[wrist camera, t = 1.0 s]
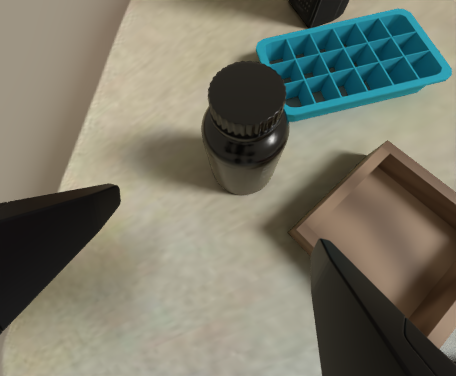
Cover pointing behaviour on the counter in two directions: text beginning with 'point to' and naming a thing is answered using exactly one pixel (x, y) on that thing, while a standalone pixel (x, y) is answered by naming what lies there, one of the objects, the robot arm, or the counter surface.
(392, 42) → the ice cube tray
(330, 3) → the portable radio
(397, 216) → the holder
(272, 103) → the supplement bottle
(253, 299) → the counter surface
